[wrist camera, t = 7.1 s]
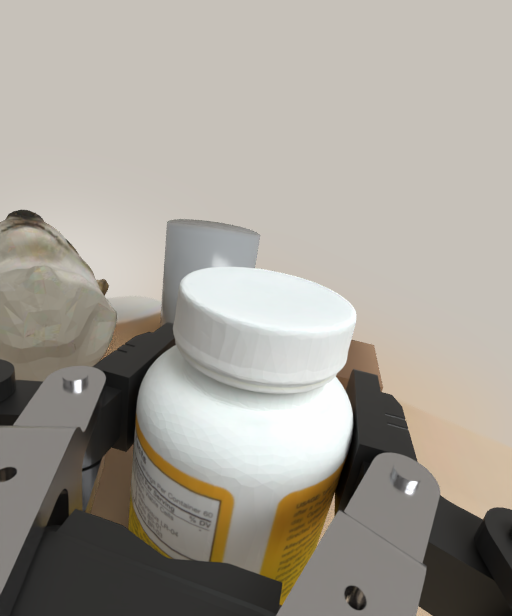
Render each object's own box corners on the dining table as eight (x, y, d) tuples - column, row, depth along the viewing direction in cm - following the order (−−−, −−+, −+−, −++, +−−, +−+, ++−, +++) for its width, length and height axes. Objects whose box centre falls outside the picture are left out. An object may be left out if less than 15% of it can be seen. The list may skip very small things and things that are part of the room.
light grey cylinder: (141, 381, 20) (149, 224, 17) (178, 345, 25) (189, 216, 22) (223, 404, 19) (247, 244, 16) (246, 363, 24) (268, 231, 21)
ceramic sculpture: (-164, 219, 11) (-90, 188, 22) (-112, 454, 13) (-70, 319, 24) (169, 235, 17) (94, 205, 28) (160, 392, 20) (94, 307, 31)
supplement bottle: (100, 693, 8) (105, 326, 5) (144, 498, 13) (161, 248, 10) (317, 683, 9) (446, 361, 6) (282, 502, 14) (341, 273, 11)
